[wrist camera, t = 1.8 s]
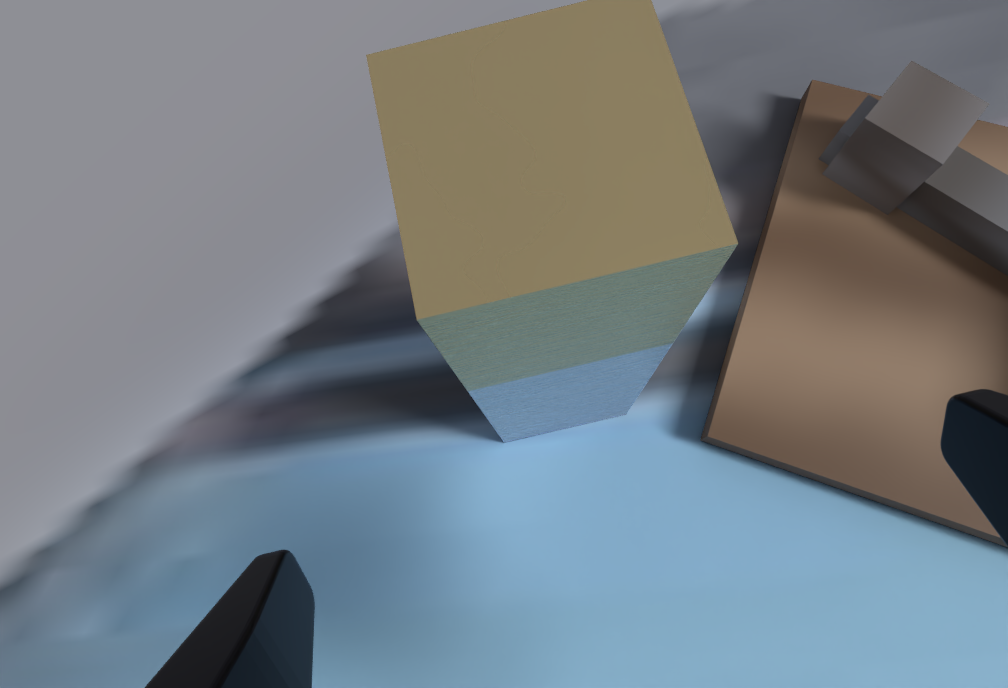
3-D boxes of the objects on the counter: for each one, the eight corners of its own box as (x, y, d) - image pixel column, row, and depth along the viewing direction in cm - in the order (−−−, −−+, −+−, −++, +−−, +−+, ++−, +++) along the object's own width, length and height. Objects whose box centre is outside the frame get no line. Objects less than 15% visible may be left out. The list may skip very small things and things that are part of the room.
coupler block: (625, 414, 20) (738, 242, 8) (504, 442, 20) (416, 320, 8) (594, 299, 21) (646, -15, 9) (478, 327, 21) (365, 53, 9)
